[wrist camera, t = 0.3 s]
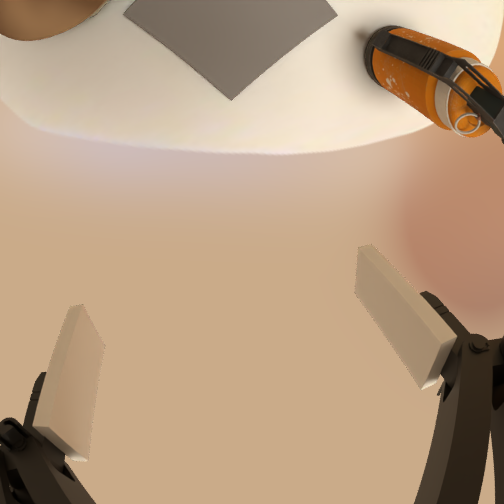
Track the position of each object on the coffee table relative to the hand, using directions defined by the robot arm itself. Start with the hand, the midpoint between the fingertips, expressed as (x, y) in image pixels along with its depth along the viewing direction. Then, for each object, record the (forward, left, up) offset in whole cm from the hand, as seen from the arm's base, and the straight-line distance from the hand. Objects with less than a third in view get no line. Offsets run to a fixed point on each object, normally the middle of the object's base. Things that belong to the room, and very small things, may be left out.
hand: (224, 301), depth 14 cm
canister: (-22, +10, -27) cm, 36 cm away
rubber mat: (-11, -6, -27) cm, 30 cm away
